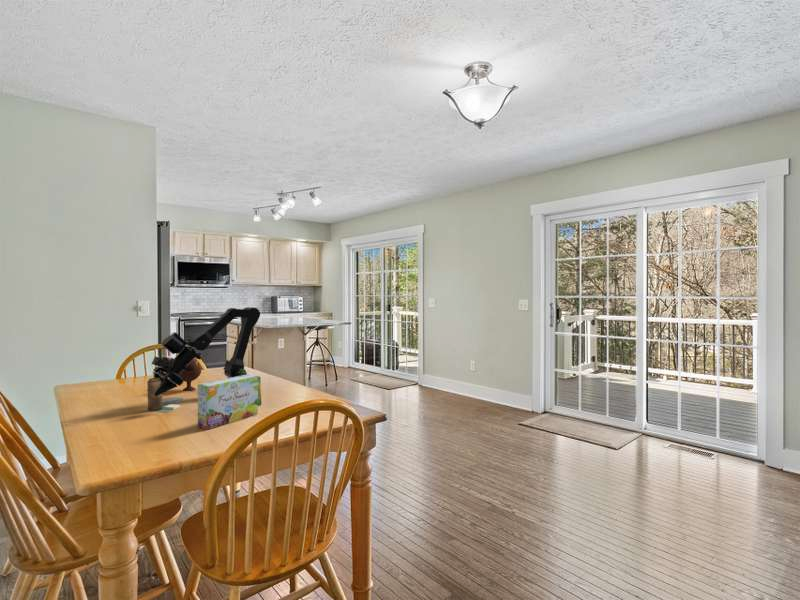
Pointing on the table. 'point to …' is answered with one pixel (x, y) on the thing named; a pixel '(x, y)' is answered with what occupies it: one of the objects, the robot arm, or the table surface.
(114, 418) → the table surface
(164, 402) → the trivet
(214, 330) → the robot arm
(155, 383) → the pepper mill
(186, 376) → the ice cream bowl
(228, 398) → the snack box
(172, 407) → the mat
